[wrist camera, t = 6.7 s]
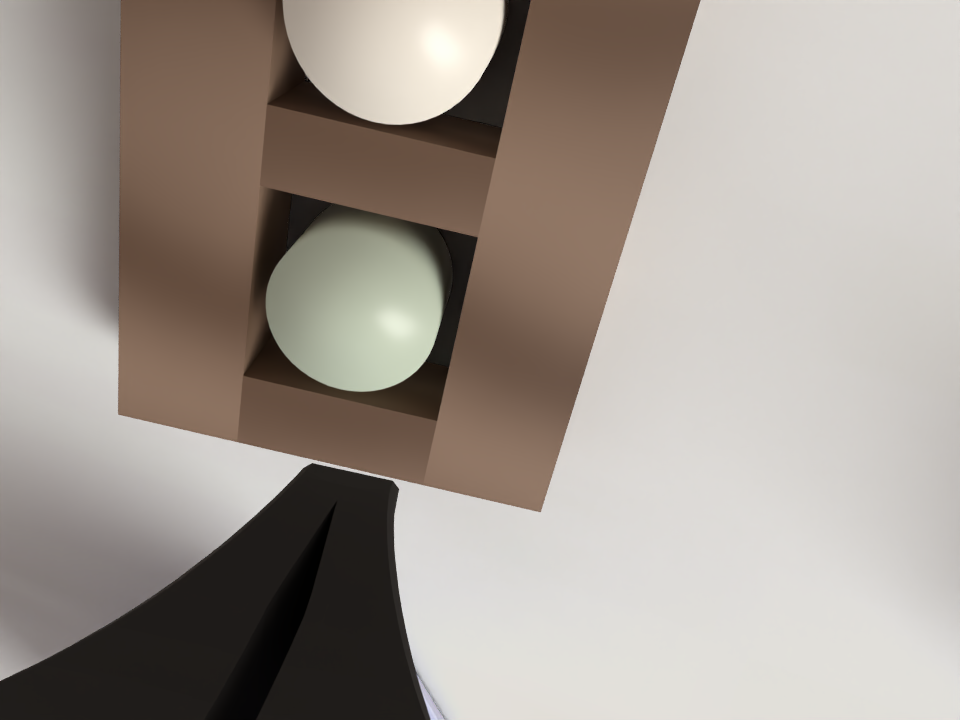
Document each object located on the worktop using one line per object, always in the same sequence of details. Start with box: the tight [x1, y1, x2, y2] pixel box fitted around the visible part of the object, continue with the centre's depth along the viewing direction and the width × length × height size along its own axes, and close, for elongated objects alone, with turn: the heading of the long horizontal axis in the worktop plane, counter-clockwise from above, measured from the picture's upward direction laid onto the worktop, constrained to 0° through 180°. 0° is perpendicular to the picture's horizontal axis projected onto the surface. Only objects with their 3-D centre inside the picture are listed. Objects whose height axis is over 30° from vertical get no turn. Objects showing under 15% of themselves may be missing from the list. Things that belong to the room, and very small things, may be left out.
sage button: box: [266, 204, 453, 392], centre depth 19 cm, size 4×4×2 cm
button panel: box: [118, 0, 700, 512], centre depth 16 cm, size 20×10×2 cm, turn 168°
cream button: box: [283, 0, 509, 125], centre depth 15 cm, size 4×4×2 cm
